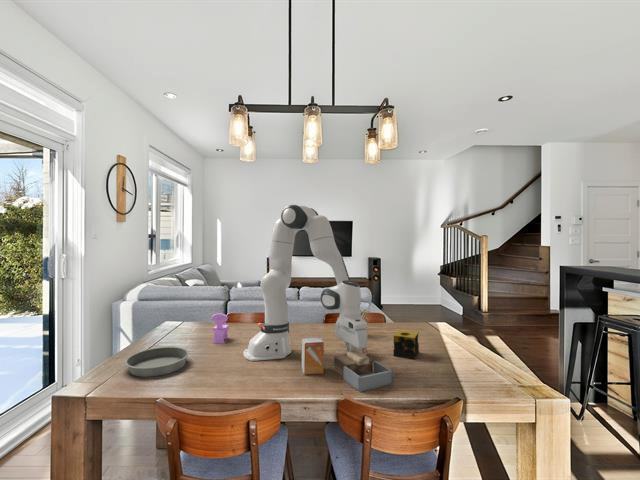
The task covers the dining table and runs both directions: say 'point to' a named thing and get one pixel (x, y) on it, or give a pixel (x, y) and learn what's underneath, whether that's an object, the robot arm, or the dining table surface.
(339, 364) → the brown and beige block
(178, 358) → the cake pan
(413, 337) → the candle
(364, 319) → the house plant
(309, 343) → the small box
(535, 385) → the dining table surface
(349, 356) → the rear tile
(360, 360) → the front tile
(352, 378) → the tray
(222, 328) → the toy chair
